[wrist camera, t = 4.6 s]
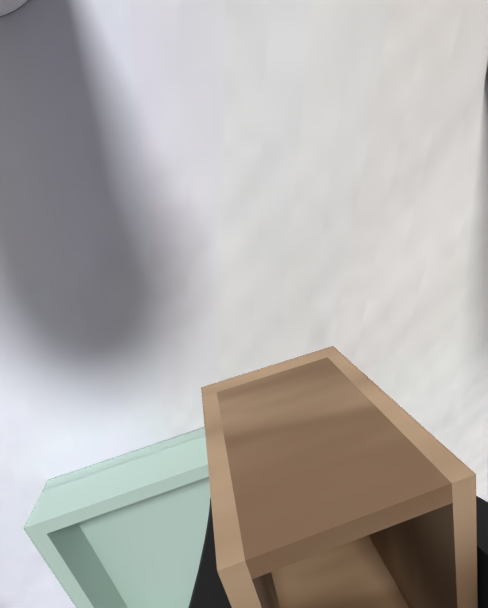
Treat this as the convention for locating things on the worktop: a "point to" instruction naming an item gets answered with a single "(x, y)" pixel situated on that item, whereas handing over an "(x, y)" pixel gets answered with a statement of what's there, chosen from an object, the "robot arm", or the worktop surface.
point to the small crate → (334, 494)
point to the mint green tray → (128, 526)
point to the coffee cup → (10, 5)
